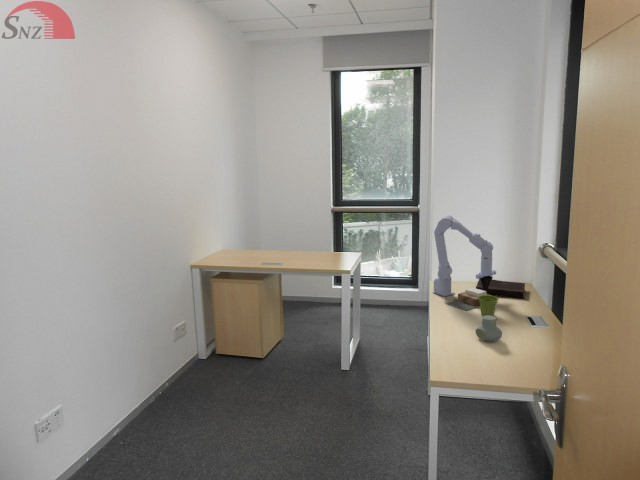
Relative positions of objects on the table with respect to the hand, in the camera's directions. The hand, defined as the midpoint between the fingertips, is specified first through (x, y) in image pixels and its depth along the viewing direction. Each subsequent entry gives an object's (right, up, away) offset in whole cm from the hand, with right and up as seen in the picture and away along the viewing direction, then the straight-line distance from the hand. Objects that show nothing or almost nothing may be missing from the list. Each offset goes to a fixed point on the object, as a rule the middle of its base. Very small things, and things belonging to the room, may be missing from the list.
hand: (485, 289), depth 258 cm
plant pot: (-7, -11, -24) cm, 27 cm away
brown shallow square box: (-7, -6, -4) cm, 10 cm away
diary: (+12, -3, +11) cm, 17 cm away
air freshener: (-17, -17, -52) cm, 57 cm away
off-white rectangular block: (-7, -2, -4) cm, 8 cm away
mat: (-16, -8, -9) cm, 20 cm away
